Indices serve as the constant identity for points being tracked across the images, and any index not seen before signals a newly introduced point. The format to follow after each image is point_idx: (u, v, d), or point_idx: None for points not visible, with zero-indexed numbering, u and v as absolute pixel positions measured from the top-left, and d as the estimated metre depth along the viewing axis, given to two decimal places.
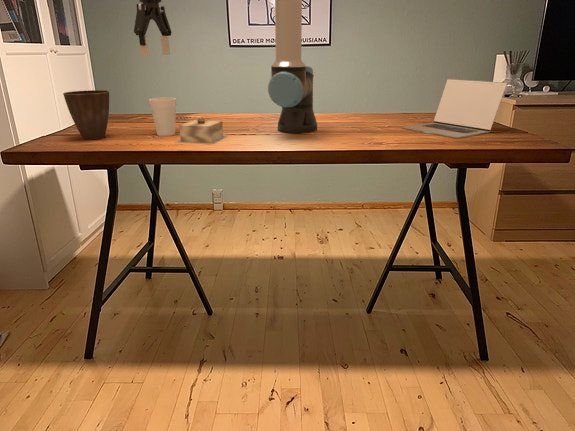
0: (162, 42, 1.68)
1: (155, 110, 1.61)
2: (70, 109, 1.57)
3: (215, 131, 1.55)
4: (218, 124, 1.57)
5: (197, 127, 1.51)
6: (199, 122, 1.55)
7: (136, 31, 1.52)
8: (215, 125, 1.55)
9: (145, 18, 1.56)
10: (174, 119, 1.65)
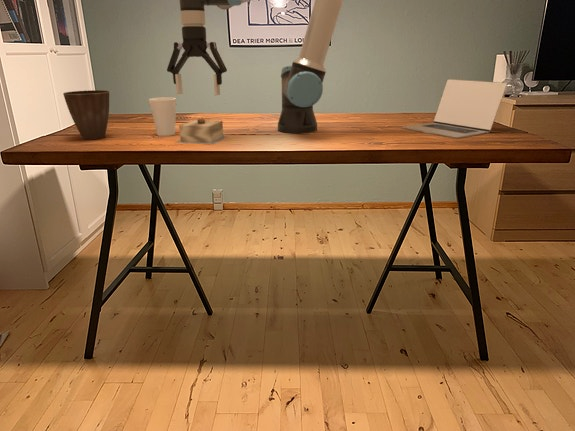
0: None
1: (155, 110, 1.61)
2: (70, 109, 1.57)
3: (215, 131, 1.55)
4: (218, 124, 1.57)
5: (197, 127, 1.51)
6: (199, 122, 1.55)
7: None
8: (215, 125, 1.55)
9: None
10: (174, 119, 1.65)
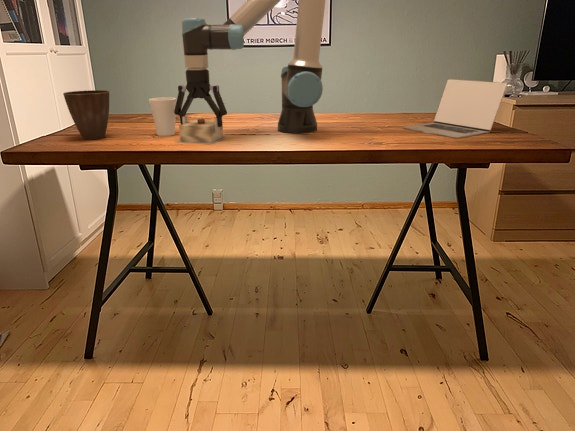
0: None
1: (155, 110, 1.61)
2: (70, 109, 1.57)
3: None
4: None
5: (197, 127, 1.51)
6: (199, 122, 1.55)
7: None
8: None
9: None
10: (174, 119, 1.65)
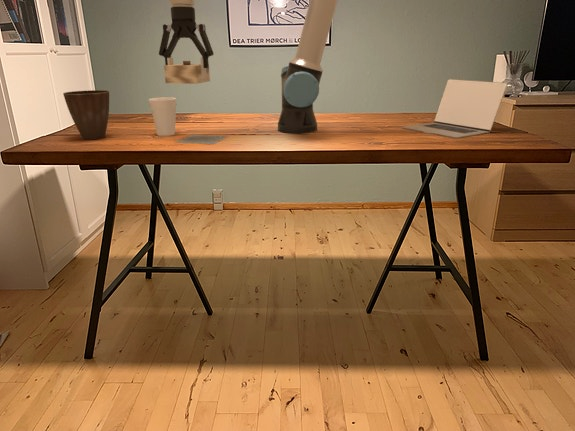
0: None
1: (155, 110, 1.61)
2: (70, 109, 1.57)
3: None
4: None
5: (182, 67, 1.47)
6: (185, 63, 1.51)
7: None
8: None
9: None
10: (174, 119, 1.65)
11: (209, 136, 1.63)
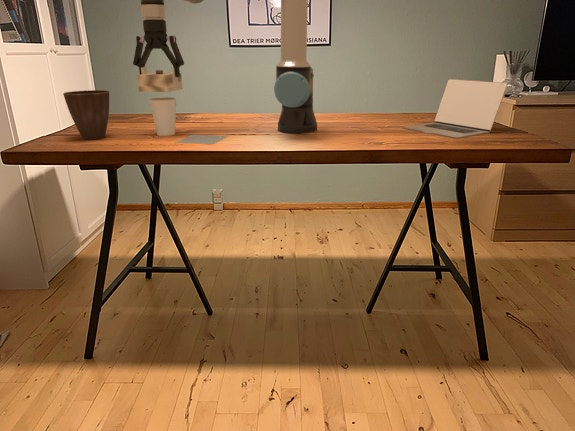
0: None
1: (155, 110, 1.61)
2: (70, 109, 1.57)
3: None
4: None
5: (154, 76, 1.55)
6: (157, 73, 1.59)
7: None
8: None
9: None
10: (174, 119, 1.65)
11: (209, 136, 1.63)
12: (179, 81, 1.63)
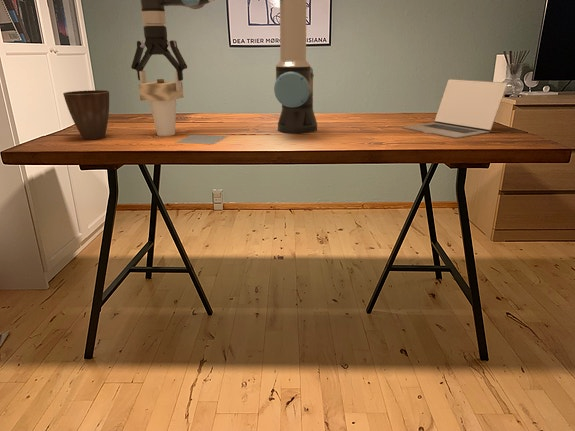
0: None
1: (155, 110, 1.61)
2: (70, 109, 1.57)
3: (174, 90, 1.60)
4: None
5: (155, 85, 1.56)
6: (158, 81, 1.60)
7: None
8: (174, 84, 1.60)
9: None
10: (174, 119, 1.65)
11: (209, 136, 1.63)
12: (180, 90, 1.65)
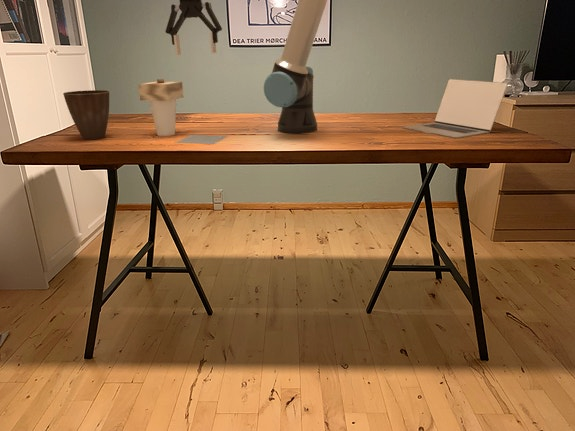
0: None
1: (155, 110, 1.61)
2: (70, 109, 1.57)
3: (174, 90, 1.60)
4: (177, 84, 1.62)
5: (155, 85, 1.56)
6: (158, 81, 1.60)
7: None
8: (174, 84, 1.60)
9: None
10: (174, 119, 1.65)
11: (209, 136, 1.63)
12: (180, 90, 1.64)
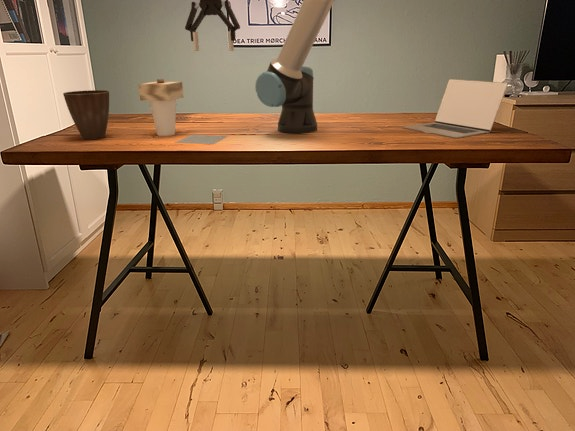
0: None
1: (155, 110, 1.61)
2: (70, 109, 1.57)
3: (174, 90, 1.60)
4: (177, 84, 1.62)
5: (155, 85, 1.56)
6: (158, 82, 1.60)
7: None
8: (174, 84, 1.60)
9: None
10: (174, 119, 1.65)
11: (209, 136, 1.63)
12: (180, 90, 1.65)
